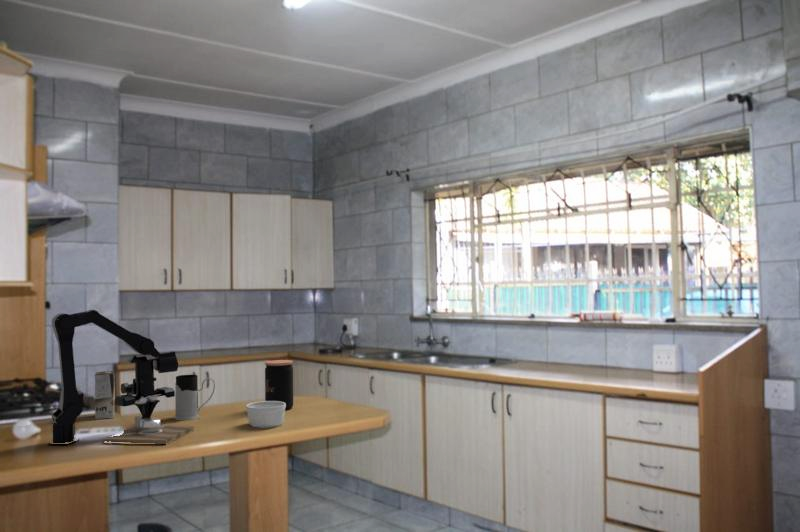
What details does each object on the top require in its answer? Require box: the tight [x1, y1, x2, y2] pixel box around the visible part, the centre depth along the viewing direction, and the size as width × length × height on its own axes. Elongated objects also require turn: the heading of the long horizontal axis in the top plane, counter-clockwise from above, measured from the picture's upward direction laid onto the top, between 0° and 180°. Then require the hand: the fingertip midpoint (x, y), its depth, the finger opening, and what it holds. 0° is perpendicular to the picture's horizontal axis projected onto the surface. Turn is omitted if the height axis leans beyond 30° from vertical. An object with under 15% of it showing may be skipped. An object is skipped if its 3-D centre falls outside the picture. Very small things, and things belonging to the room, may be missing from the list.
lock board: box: [103, 424, 195, 444], centre depth 218 cm, size 20×20×2 cm
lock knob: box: [133, 415, 162, 433], centre depth 220 cm, size 12×6×3 cm, turn 47°
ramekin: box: [245, 400, 286, 429], centre depth 235 cm, size 13×13×7 cm
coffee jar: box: [264, 359, 294, 411], centre depth 263 cm, size 11×11×18 cm
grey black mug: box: [173, 374, 216, 421], centre depth 249 cm, size 9×14×15 cm, turn 113°
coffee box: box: [94, 370, 116, 420], centre depth 252 cm, size 9×6×16 cm
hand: (146, 422), depth 225 cm, fingers closed
